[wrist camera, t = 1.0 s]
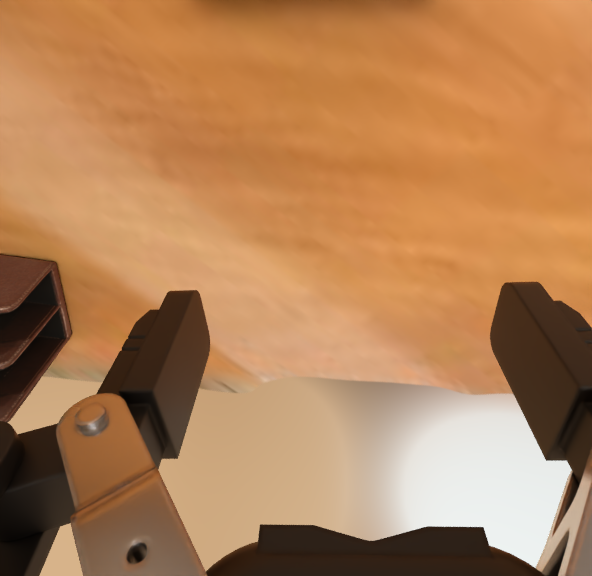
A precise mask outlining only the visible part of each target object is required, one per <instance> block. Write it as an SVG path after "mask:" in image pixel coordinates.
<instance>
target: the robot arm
mask: <svg viewBox="0 0 592 576" xmlns="http://www.w3.org/2000/svg"><path fill="white" fill-rule="evenodd" d="M490 340H491V346H492V350H493V353H494V355H495V357H496V359H497V361H498V363H499V365H500V367H501V369H502V371H503V373H504V375H505V377H506V379H507V381H508V383H509V385H510V387H511V389H512V392H513V394H514V395H515V398H516V400H517V402H518V404H519V406H520V408H521V410H522V412H523V414H524V416H525V418H526V420H527V422H528V424H529V426H530V428H531V430H532V432H533V434H534V437H535V438H536V440H537V443H538V445H539V447H540V449H541V450H542V453H543V455H544V457H545V459H546V460H567V461H568V463H569V465H570V467H571V469H572V471H571V473H570V475H569V477H568V479H567V482H566V485H565V488H564V491H563V494H562V497H561V500H560V503H559V506H558V509H557V513H556V516H555V519H554V521H553V524H552V527H551V530H550V534H549V537H548V539H547V542H546V545H545V548H544V550H543V553H542V555H541V557H540V560H539V562H538V564H537V567H536V568H534V567H532V566H531V565H529V564H528V563H526V562H525V561H523V560H521V559H519V558H517V557H515V556H514V555H512V554H510V553H507V552H504V551H502V550H500V549H497V548H495V547H491V546H489V544H488V541H487V538H486V534H485V531H484V528H483V527H424V528H421V529H417V530H413V531H409V532H406V533H402V534H399V535H395V536H391V537H387V538H384V539H380V540H376V541H367V540H362V539H359V538H356V537H352V536H349V535H345V534H342V533H338V532H335V531H331V530H328V529H324V528H321V527H318V526H314V525H260V531H259V540H258V542H255V543H251V544H249V545H246V546H244V547H242V548H239V549H237V550H235V551H233V552H232V553H230V554H228V555H226V556H225V557H223V558H222V559H221V560H219V561H218V562H217V563H215V564H214V565H213V566H212V567H210V568H209V569H208V570H207V571H206V572H205V569H204V567H203V565H202V563H201V561H200V559H199V557H198V555H197V552H196V550H195V548H194V546H193V544H192V542H191V539H190V537H189V535H188V533H187V531H186V529H185V527H184V524H183V522H182V520H181V518H180V516H179V514H178V512H177V509H176V507H175V505H174V503H173V501H172V499H171V497H170V495H169V493H168V490H167V489H166V486H165V484H164V482H163V480H162V478H161V475H160V473H159V471H158V468H159V465H160V462H161V459H164V458H165V459H170V458H174V459H175V458H176V459H177V458H178V456H179V453H180V449H181V446H182V442H183V439H184V436H185V433H186V429H187V426H188V422H189V419H190V416H191V413H192V409H193V406H194V402H195V399H196V396H197V393H198V389H199V386H200V383H201V379H202V376H203V373H204V369H205V366H206V363H207V360H208V356H209V351H210V336H209V331H208V326H207V322H206V318H205V314H204V309H203V305H202V301H201V297H200V294H199V292H198V291H197V290H190V291H169V292H168V293H167V295H166V297H165V299H164V301H163V303H162V305H161V307H160V309H159V310H150V311H148V312H147V313H146V314H145V315H144V316H143V317H141V318H140V319H139V320H138V321H137V322H136V323H135V325H134V327H133V329H132V330H131V332H130V334H129V336H128V339H127V340H126V341H125V343H124V345H123V347H122V351H120V352H119V354H118V356H117V358H116V359H115V361H114V363H113V365H112V367H111V369H110V370H109V372H108V374H107V376H106V378H105V379H104V381H103V383H102V385H101V387H100V388H99V390H98V392H97V394H96V395H93V396H89V397H87V398H85V399H83V400H81V401H79V402H78V403H76V404H74V405H73V406H72V407H71V408H69V409H68V411H66V412H65V414H64V415H63V416H62V417H61V419H60V421H59V423H57V424H54V425H51V426H47V427H43V428H40V429H36V430H33V431H29V432H25V433H21V434H18V435H17V433H16V432H15V431H14V429H13V427H12V426H11V425H10V424H8V423H7V422H4V421H0V576H39V575H40V573H41V570H42V568H43V565H44V563H45V561H46V558H47V556H48V553H49V551H50V549H51V547H52V544H53V542H54V540H55V537H56V535H57V532H58V530H59V528H60V526H63V525H66V524H69V523H71V527H72V531H73V535H74V539H75V544H76V548H77V552H78V556H79V560H80V564H81V568H82V572H83V576H592V328H591V327H590V325H589V324H588V323H587V322H586V321H585V319H584V318H583V317H582V316H581V314H580V313H578V312H577V311H575V310H574V309H572V308H571V307H569V306H568V305H566V304H565V303H563V302H562V301H553V299H552V298H551V297H550V296H549V294H548V293H547V292H546V290H545V289H544V288H543V286H542V285H541V284H540V283H538V282H512V283H505V284H504V285H503V286H502V288H501V291H500V295H499V299H498V303H497V307H496V311H495V315H494V318H493V322H492V326H491V332H490Z"/></svg>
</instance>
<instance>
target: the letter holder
mask: <svg viewBox="0 0 592 576" xmlns="http://www.w3.org/2000/svg"><path fill="white" fill-rule="evenodd" d="M71 335H72V331H71V328H70V324H69V319H68V314H67V310H66V305H65V301H64V296H63V292H62V287H61V283H60V278H59V274H58V269H57V264H56V263H55V262H52V261H51V262H50V261H42V260H35V259H29V258H21V257H14V256H7V255H0V421H4V422H9V421H10V420H11V418H12V417H13V416H14V415H15V413H16V412H17V410H18V409H19V408H20V406H21V405H22V404H23V402H24V401H25V400H26V398H27V397H28V395H29V394H30V393H31V391H32V390H33V388H34V387H35V386H36V384H37V383H38V381H39V380H40V378H41V377H42V376H43V374H44V373H45V371H46V370H47V369H48V367H49V366H50V364H51V363H52V362H53V360H54V359H55V358H56V356H57V355H58V353H59V352H60V350H61V349H62V348H63V346H64V345H65V344H66V343H67V341H68V340H69V339H70V337H71Z"/></svg>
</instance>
